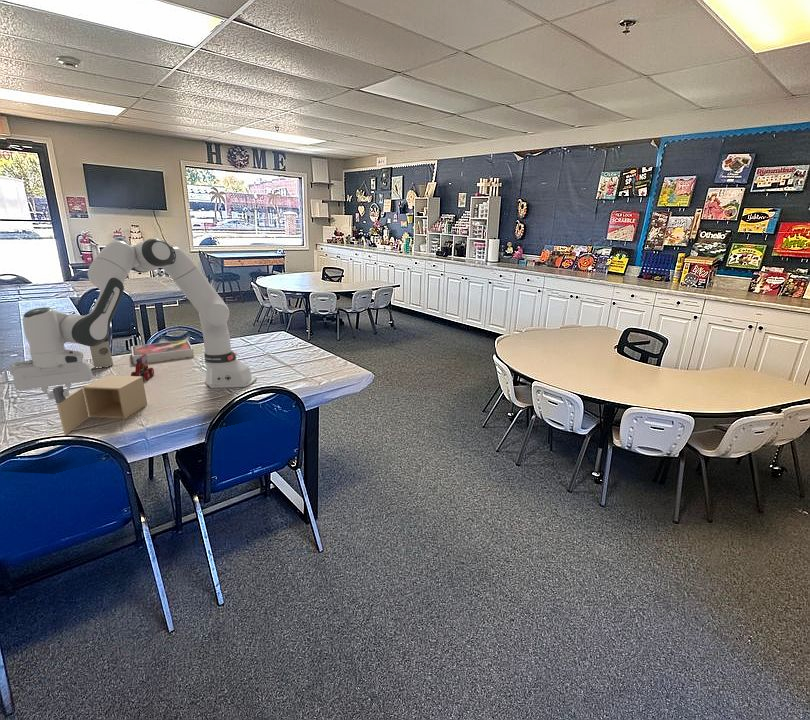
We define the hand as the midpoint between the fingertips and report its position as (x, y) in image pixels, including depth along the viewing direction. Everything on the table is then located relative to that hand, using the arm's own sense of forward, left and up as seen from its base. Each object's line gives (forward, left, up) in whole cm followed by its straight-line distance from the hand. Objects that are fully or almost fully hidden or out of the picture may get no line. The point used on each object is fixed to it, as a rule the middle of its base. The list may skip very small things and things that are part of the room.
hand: (59, 397), depth 142 cm
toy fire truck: (+10, -55, -14) cm, 57 cm away
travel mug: (+40, -69, -14) cm, 81 cm away
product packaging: (+22, -90, -14) cm, 94 cm away
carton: (-4, -19, -14) cm, 24 cm away
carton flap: (+1, -5, -13) cm, 14 cm away
